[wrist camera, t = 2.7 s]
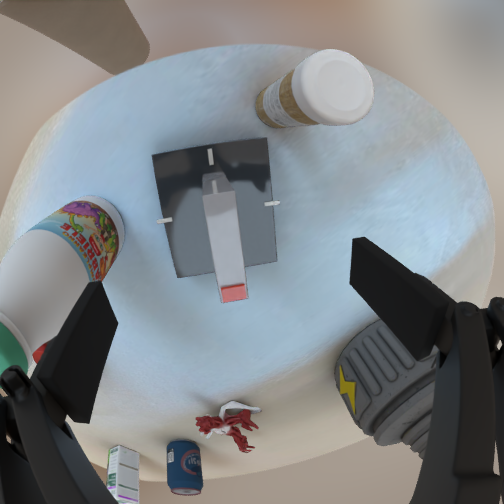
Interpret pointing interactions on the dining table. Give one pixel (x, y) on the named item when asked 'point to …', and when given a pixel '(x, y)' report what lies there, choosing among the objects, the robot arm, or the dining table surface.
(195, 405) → the dining table surface
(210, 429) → the figurine
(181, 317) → the dining table surface
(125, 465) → the syrup box
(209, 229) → the tap handle
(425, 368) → the decorative lamp
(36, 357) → the button
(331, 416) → the dining table surface
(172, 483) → the soda can
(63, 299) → the milk bottle
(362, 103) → the sprinkles bottle
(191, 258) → the dark gray flat block
